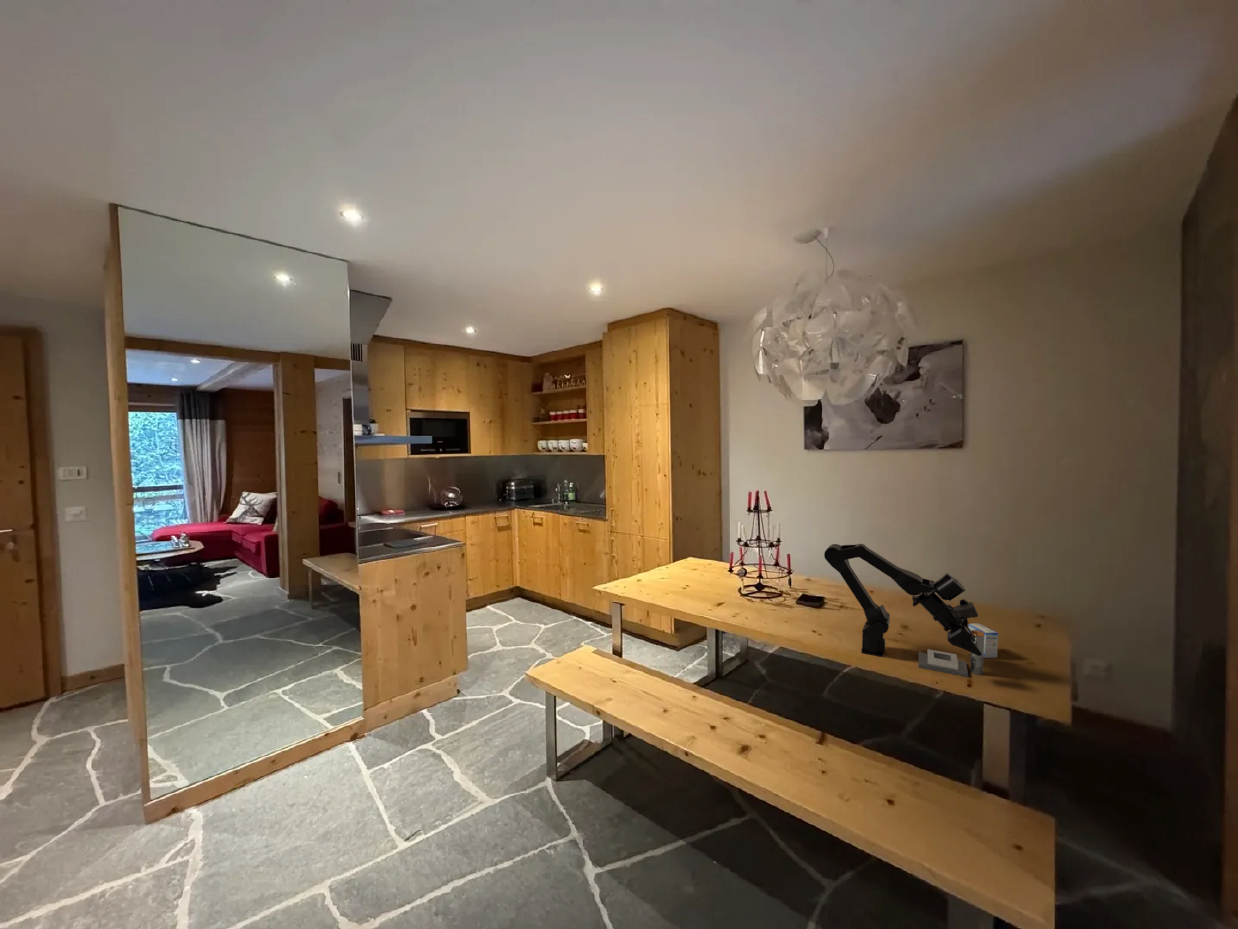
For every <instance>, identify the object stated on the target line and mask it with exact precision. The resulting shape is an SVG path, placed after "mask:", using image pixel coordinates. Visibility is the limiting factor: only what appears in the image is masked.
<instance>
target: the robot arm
mask: <svg viewBox="0 0 1238 929" xmlns="http://www.w3.org/2000/svg"><path fill="white" fill-rule="evenodd" d="M823 557H824V560H825V561H827V563H828V564H829V566H831V567H832V568H833V569H834V570H835V571H837V572H838V573H839V574H840V575H841V577H842V579H843V580H844V582H845V584H846V586H847V587H848V588H849V589H850V591H851V593H852V594H853V596H854V597H855V599H856V600H857V602H858V604H859V605H860V606H861V607H862V610H863V612H864V615H865V619H866V621H865V623H864V625H863V628H862V630H861V631H862V633H861V635H862V637H861V639H862V640H861V644H862V645H861V653H863V654H868V655H873V656H878V657H883V656H884V654H886V638H884V634H886V633H887V632H888V631H889V628H890V623H891V619H890V616H891V614H890V613H889V612H888V611H887V610H886V608H885V606H884V604H881V605H878V604H877V603H875V601H874V600H873V598H872V596H871V595H870V594H869V592H868V591H867V589H866V588H865V586H864V584H863V583H862V581H861V580H860V579H859V576H858V575H857V574H856V573H855V571H854V569H853V568H852V567H851V565H850V559H856V558H860V559H861V560H863V561H864V562H866V563H868V565H871V566H872V567H873V568H876V569H877V570H878V571H880V572H882V573H883V574H884V575H886V576H888V577H889V578H890V579H892V580H893V581H894V583H896V584H897V586H899V587H900V589H902V590H903V591H904V592H905V593H906V594H907V595H910V596H912V606H913V607H916V606H918V605H919V604H920V605H921V606H922V607H923V608H924V609H925V610H926V611H927V612H928V613H929V615H931V616H932V619H933V620H934V621H935V622H937V623H939V624H940V625H941V626H942V627H943V630H944V631H945V632H946V636H947V637H946V638H947V642H949V644H950V645H951V646H952V647H953V646H954V647H957V648H959V649H962V650H965V651H967V652H969V653H970V654H971V653H973V654H975V655H978V656H981V655H982V653H981V652H980V650H979V649H978V648H977V646H976V645H975V644H974V642H973V641H972V640H971V637H972V632H971V630H970V629H969V627H968V626H969V620H968V619H971V618H977V617H979V613H978V611H977V610H978V609H976V606H975V605H974V603H973V602H971V601H967V600H966V599H965V598H962V599H959V604H957V605H956V606H952V604H948V603H946V602H945V601H949V602H950V601H952V600H954V599H955V598H957V597H958V596H960V595H961V594H962V593H964V592H965V591H967V590H966V588H965V586H964V585H963V583H961V582H960V581H959V580H958V579H957V578H955V577H953V576H952V575H950V574H949V573H944V575H942V577H940V578H939V579H937V580H935V581H934V580H932V579H931V580H930V579H928V578H923V577H922V576H920V575H919V574H917V573H914V572H912V571H910V570H907V569H905V568H901V567H899V566H897V565H896V564H894V563H893V562H891V561H890V560H888V559H886V558H885V557H883V556H881V555H880V554H878V553H877V552H875V551H874V550H872V549H870V548H869V547H868V546H866V544H864V543H856V544H843V545H841V544H837V543H833V544H831V545H829V546H828V547H827V548H826V550H825V551H824V554H823Z"/></svg>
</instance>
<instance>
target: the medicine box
mask: <svg viewBox="0 0 1238 929" xmlns="http://www.w3.org/2000/svg"><path fill="white" fill-rule="evenodd" d="M968 627H969V629H970V630H971V632H972V630H979V631H982V632H984V655H983V658H985V659H986V658H987V659H990V658H992V659H993V658H994V659H995V658H998V646H999V645H998V643H999V632H997V631H995V630H993V629H991V628H989V627H987V626H986V625H983V624H981V623H968Z"/></svg>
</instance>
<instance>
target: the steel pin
mask: <svg viewBox="0 0 1238 929" xmlns="http://www.w3.org/2000/svg"><path fill="white" fill-rule="evenodd" d="M971 640H972V641H973V642H974V644H975V645H976V646H977V648H978V649H979V650H980V652H981V653H982V655H981V656H978V655H975V654H973V653H971V652H970V662H969V664H970V665H969V666H970V668H969V673H971V674H974V675H977V676H982V675H983V672H984V657H983V655H984V632H982V631H979V630H972V637H971Z"/></svg>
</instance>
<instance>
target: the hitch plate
mask: <svg viewBox="0 0 1238 929" xmlns="http://www.w3.org/2000/svg"><path fill="white" fill-rule="evenodd" d="M926 652H927V653H926ZM926 652H921V651H920V652H918V658H917V659H918V661H917V662H918V663H917V664H918V665H917V667H918V668H921V669H924V670H928V671H929V670H930V671H934V672H939V671H940V672H939V673H944V674H948V673H949V675H955V676H958V675H960V676H959V677H964V678H969V671H968V666H967V663H966V660H962V659H958V656H957V654H955V653H950V652H946V651H940V650H933V649H930V648H927V651H926Z"/></svg>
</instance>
